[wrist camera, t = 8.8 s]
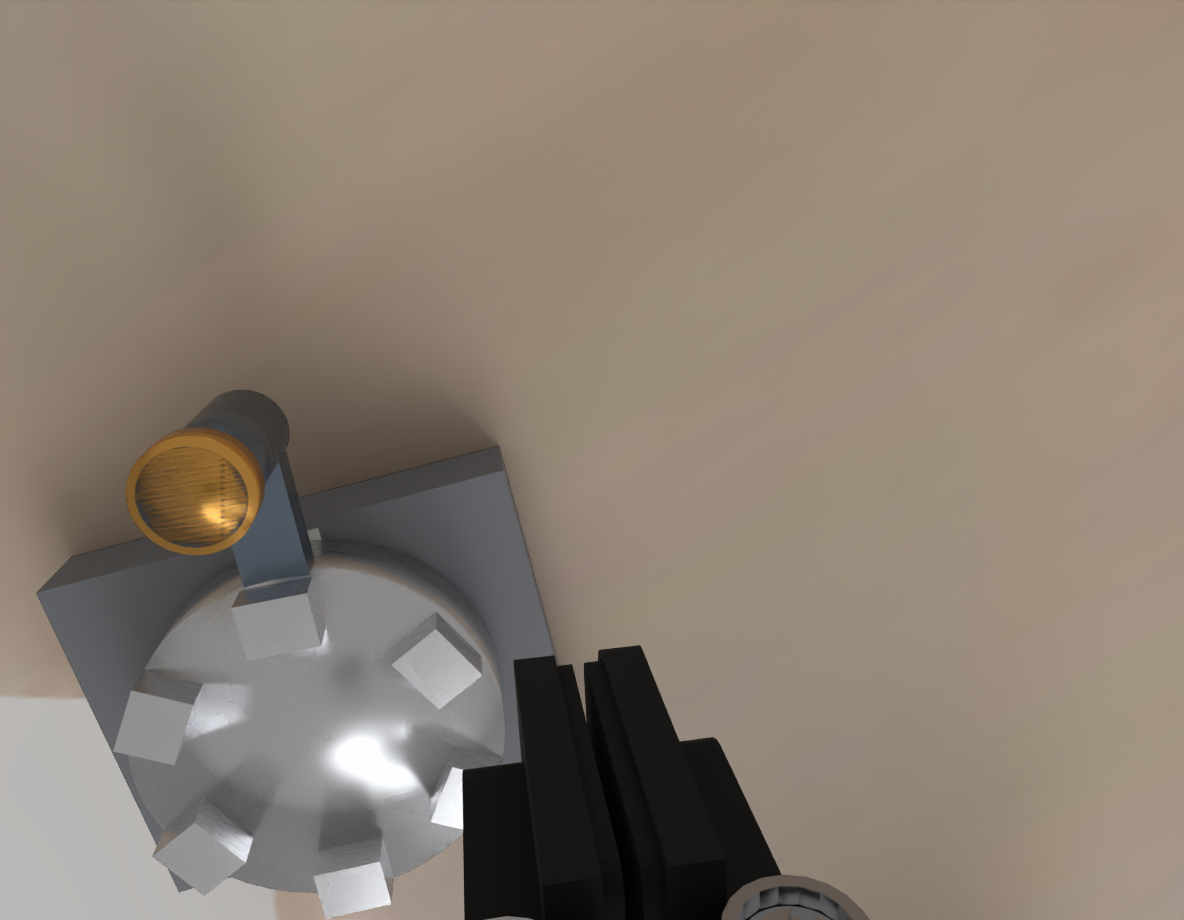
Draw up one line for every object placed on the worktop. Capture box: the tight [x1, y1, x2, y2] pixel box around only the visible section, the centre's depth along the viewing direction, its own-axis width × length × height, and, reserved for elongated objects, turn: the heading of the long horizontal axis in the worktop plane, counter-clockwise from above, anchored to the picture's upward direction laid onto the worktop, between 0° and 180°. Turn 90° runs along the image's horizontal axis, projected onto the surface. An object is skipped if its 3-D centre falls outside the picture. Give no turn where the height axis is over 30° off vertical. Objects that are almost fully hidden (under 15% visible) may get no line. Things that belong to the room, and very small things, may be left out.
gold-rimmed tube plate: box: [113, 390, 505, 919], centre depth 28 cm, size 18×12×8 cm, turn 8°
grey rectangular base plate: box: [36, 446, 559, 892], centre depth 34 cm, size 13×16×3 cm
